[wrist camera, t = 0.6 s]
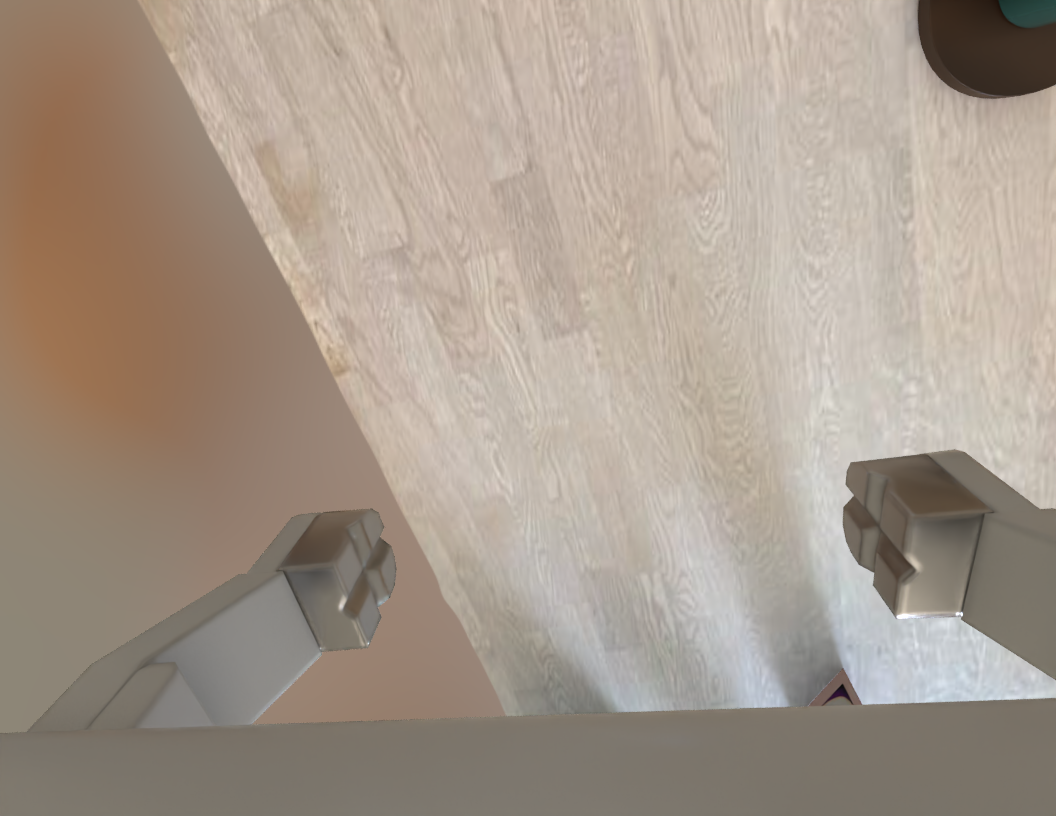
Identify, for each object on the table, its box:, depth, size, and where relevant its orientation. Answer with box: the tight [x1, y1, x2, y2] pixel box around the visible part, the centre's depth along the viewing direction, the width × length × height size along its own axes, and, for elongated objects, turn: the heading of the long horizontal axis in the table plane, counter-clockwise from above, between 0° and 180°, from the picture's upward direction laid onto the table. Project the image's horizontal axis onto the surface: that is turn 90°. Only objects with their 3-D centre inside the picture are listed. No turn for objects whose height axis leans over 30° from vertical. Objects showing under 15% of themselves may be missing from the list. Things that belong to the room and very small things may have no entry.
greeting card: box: [809, 669, 862, 706], centre depth 65 cm, size 11×7×15 cm, turn 161°
